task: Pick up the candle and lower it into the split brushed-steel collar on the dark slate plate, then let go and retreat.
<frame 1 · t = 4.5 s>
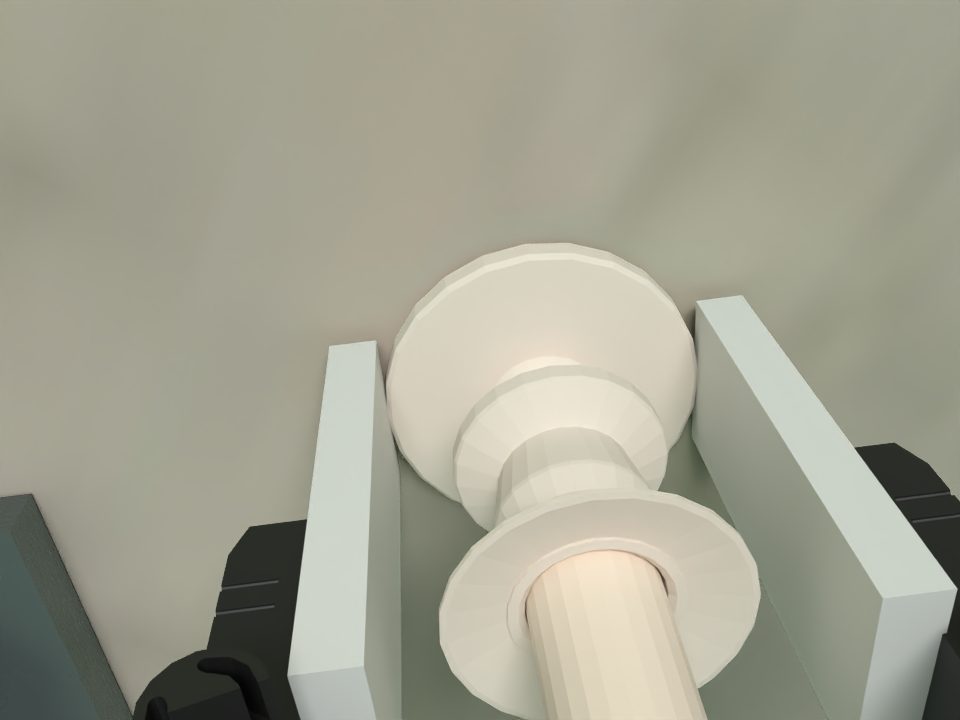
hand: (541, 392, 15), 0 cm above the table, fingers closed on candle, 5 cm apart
candle: (537, 375, 16), on the table, touching gripper
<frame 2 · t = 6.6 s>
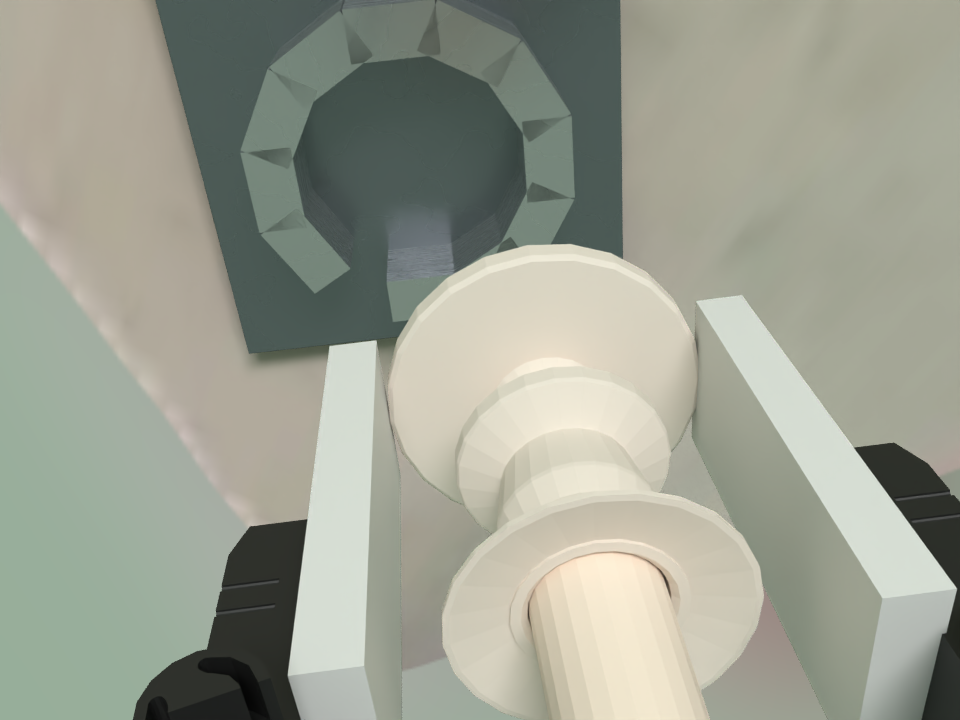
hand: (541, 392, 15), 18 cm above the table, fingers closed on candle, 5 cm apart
candle: (539, 376, 16), point 17 cm above the table, touching gripper
ring stand: (411, 140, 31), on the table
when the fingers open (4 cm above the table, at t = 8.7 s): candle stays where it is, point 3 cm above the table.
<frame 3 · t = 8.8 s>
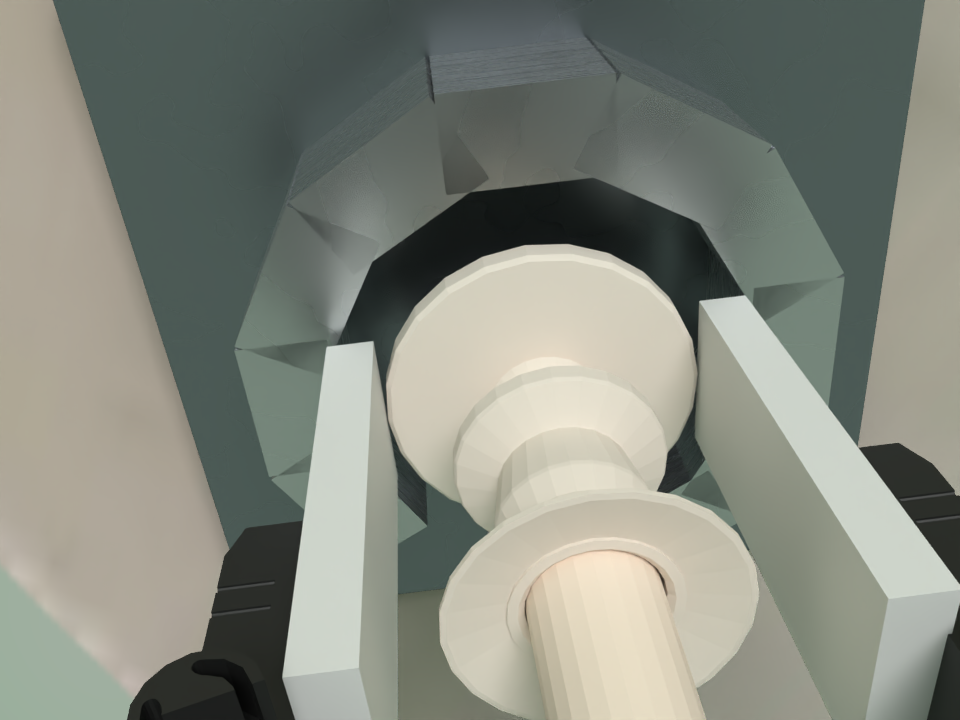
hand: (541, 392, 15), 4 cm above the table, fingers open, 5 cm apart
candle: (537, 376, 16), point 3 cm above the table
ring stand: (522, 289, 18), on the table
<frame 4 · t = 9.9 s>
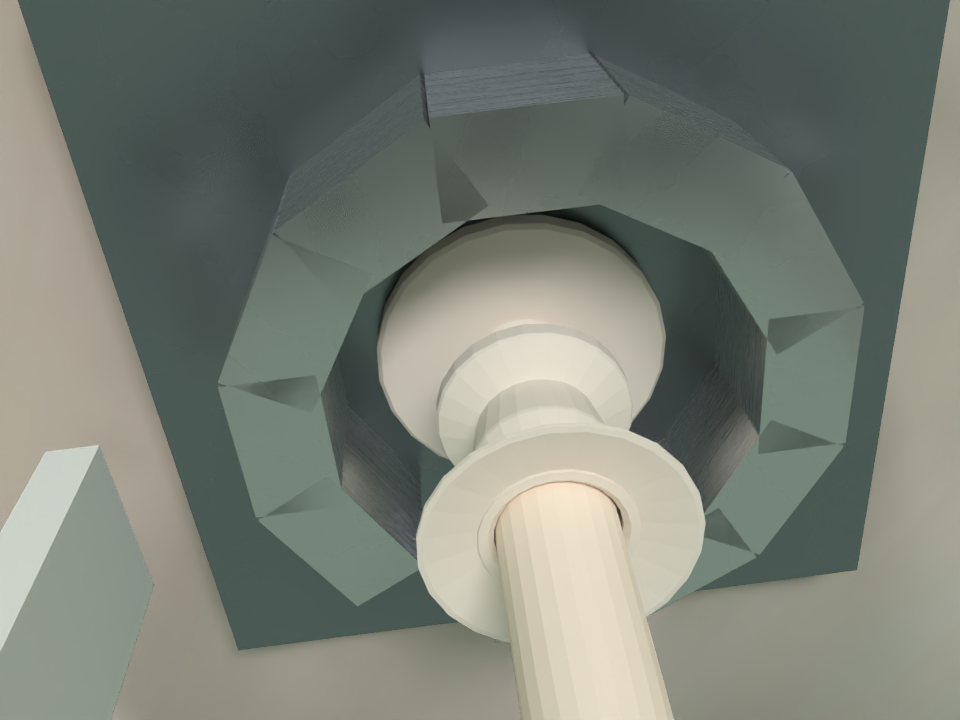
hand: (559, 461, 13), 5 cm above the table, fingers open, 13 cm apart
candle: (518, 340, 17), point 1 cm above the table, touching ring stand
ring stand: (522, 315, 17), on the table
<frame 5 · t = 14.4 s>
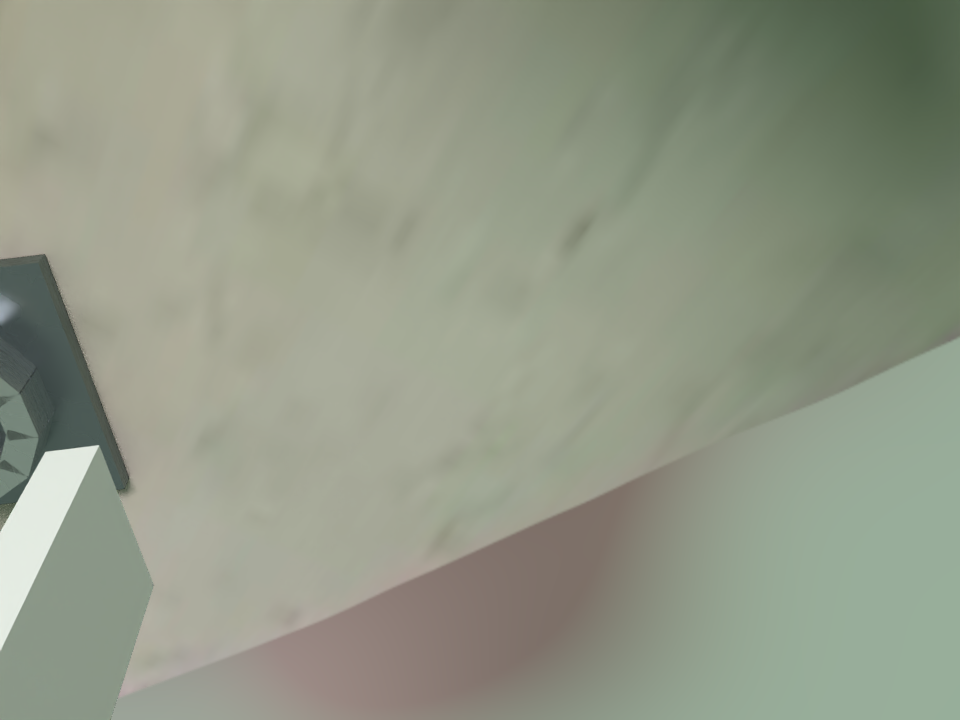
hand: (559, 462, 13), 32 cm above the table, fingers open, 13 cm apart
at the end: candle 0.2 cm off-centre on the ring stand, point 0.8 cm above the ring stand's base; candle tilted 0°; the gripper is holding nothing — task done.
